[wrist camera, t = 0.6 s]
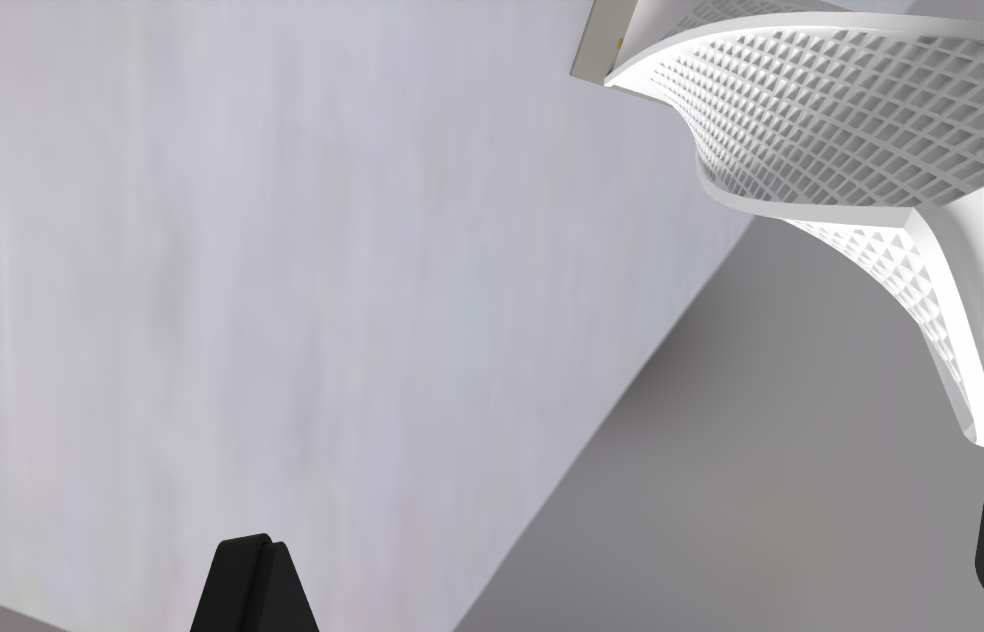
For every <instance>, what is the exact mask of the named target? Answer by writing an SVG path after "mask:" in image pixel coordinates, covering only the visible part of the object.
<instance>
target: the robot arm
mask: <svg viewBox="0 0 984 632" xmlns="http://www.w3.org/2000/svg"><path fill="white" fill-rule="evenodd" d="M975 568H976V573H977V576H978V579H979V581H980V583H981V585H982V587H983V588H984V505H983V512H982V518H981V525H980V531H979V538H978V544H977V550H976V557H975ZM190 632H319V629H318V627H317V624H316V621H315V619H314V616H313V614H312V611H311V608H310V606H309V603H308V601H307V598H306V595H305V593H304V590H303V587H302V585H301V582H300V580H299V577H298V574H297V572H296V569H295V567H294V564H293V561H292V559H291V556H290V554H289V551H288V548H287V546H286V544H285V543H284V542H276V543H273V542H272V540H271V538H270V537H269V536H268V535H267V534H265V533H262V534H256V535H251V536H245V537H240V538H234V539H229V540H224V541H222V542H221V543H219V545H218V547H217V549H216V552H215V555H214V558H213V561H212V565H211V568H210V571H209V574H208V577H207V580H206V583H205V586H204V589H203V592H202V595H201V599H200V602H199V605H198V608H197V611H196V614H195V617H194V620H193V623H192V626H191V630H190Z"/></svg>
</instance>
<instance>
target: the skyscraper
mask: <svg viewBox="0 0 984 632" xmlns="http://www.w3.org/2000/svg"><path fill="white" fill-rule="evenodd" d="M570 75H571V76H574V77H577V78H580V79H583V80H586V81H590V82H593V83H596V84H599V85H603V86H606V87H609V88H612V89H615V90H619V91H622V92H625V93H628V94H631V95H635V96H638V97H641V98H644V99H648V100H651V101H654V102H657V103H660V104H664V105H667V106H670V107H673V108H676V109H677V110H678V111H679V112H680V113H681V115H682V116H683V117H684V119H685V120H686V122H687V123H688V125H689V127H690V129H691V131H692V133H693V135H694V138H695V141H696V151H695V166H696V173H697V176H698V179H699V182H700V184H701V185H702V187H703V189H704V190H705V191H706V192H707V193H708V194H709V195H710V196H711V197H712V198H713V199H715V200H716V201H718V202H720V203H721V204H723V205H725V206H728V207H731V208H734V209H736V210H739V211H743V212H748V213H752V214H757V215H761V216H767V217H773V218H779V219H782V220H785V221H786V222H788V223H791V224H793V225H795V226H797V227H799V228H800V229H802V230H804V231H806V232H808V233H810V234H812V235H814V236H815V237H817V238H819V239H821V240H822V241H824V242H826V243H827V244H829V245H830V246H832V247H833V248H835V249H836V250H838V251H840V252H841V253H843V254H844V255H845V256H847V257H848V258H850V259H851V260H852V261H854V262H855V263H856V264H858V265H859V266H860V267H861V268H863V269H864V270H865V271H866V272H868V273H869V274H870V275H871V276H872V277H874V278H875V279H876V280H877V281H878V282H879V283H881V284H882V285H883V286H884V287H885V288H886V289H887V290H888V291H889V292H890V293H891V294H892V295H893V296H894V297H895V298H896V299H897V300H898V301H899V302H900V303H901V304H902V305H903V306H904V308H905V309H906V310H907V311H908V312H909V313H910V315H911V316H912V317H913V318H914V319H915V320H916V322H917V323H918V324H919V327H920V329H921V331H922V334H923V336H924V338H925V341H926V343H927V346H928V348H929V350H930V353H931V355H932V357H933V360H934V362H935V365H936V367H937V370H938V372H939V375H940V377H941V380H942V382H943V385H944V387H945V390H946V392H947V395H948V397H949V399H950V402H951V404H952V407H953V409H954V412H955V414H956V417H957V419H958V422H959V424H960V427H961V429H962V432H963V434H964V435H965V436H966V437H967V438H968V439H969V440H970V441H971V442H973V443H974V444H977V445H980V446H983V447H984V22H979V21H968V20H958V19H947V18H936V17H925V16H915V15H898V14H880V13H863V12H854V11H851V10H848V9H845V8H842V7H839V6H836V5H833V4H829V3H826V2H822V1H818V0H594V3H593V6H592V9H591V12H590V15H589V18H588V21H587V24H586V27H585V30H584V33H583V36H582V39H581V42H580V45H579V48H578V51H577V54H576V57H575V60H574V63H573V65H572V68H571V71H570Z"/></svg>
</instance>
